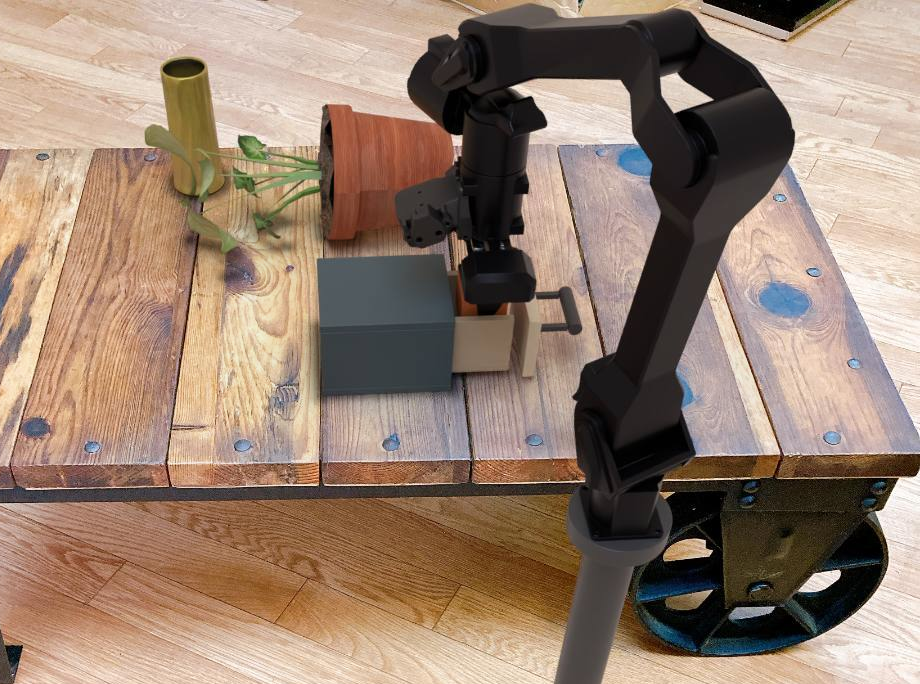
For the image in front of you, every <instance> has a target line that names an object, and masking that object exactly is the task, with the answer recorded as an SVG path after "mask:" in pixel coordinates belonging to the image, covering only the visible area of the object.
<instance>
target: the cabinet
mask: <svg viewBox="0 0 920 684" xmlns="http://www.w3.org/2000/svg"><path fill="white" fill-rule="evenodd" d="M447 271H448V270H447V263H446V257H445V253H428V254H427V253H426V254H425V253H424V254H400V255H397V254H396V255H371V256H344V257H317V258H316V277H317V297H318V298H317V299H318V302H317V303H318V322H319V323H318V324H319V339H320V340H319V342H320V343H319V344H320V364H321V365H320V366H321V382H322V385H321V386H322V396H323V397H333V396H336V397H337V396H357V395H359V396H360V395H381V394H406V393H407V394H408V393H429V392H451V391H452V377H453V372H452V364H453V349H454V335H455V316H454V310H453V304H452V298H451V292H450V286H449V280H448V275H447Z"/></svg>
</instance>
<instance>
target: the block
mask: <svg viewBox="0 0 920 684" xmlns="http://www.w3.org/2000/svg"><path fill="white" fill-rule="evenodd" d="M459 264H460V263H458V264H457V266H458V265H459ZM457 271H458V272H457V287H456V306H457V311H458V317H463V316H478V312H477V305H476V304H472V305H471V304H470V303H468V302H466V301H464V296H463V290H462V285H461V280H460V274H459V268H458V267H457ZM508 305H509V303H503V304H502V306H501V307H500V308H499V310H498V311H497V312H496V314H495V315H508V308H509V307H508Z"/></svg>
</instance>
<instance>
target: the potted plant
mask: <svg viewBox="0 0 920 684" xmlns="http://www.w3.org/2000/svg"><path fill="white" fill-rule="evenodd" d="M352 107H353V106H351V105H350V104H340V103H339V104H338V103H337V104H336V103H335V104H334V103H325V104H324V105H322V106H321V110H322V115H321V121H320V133H319V151H318V153H317V160H314V159H308V158H304V157H302V156H297V155H289V154H280V153H275V152H270V151H269V152H268V151H264V150H263V149H264V148H266V147H267V144H266V143H262V142H261V140H259V139H258V138H257V137H256V136H254V135H241V134H238V135H237V144H238V147H239V148H240V149H241V150H242V154H243V155H244V156H245V157H244V156H243V157H242V156H235V155H229V154H222V153H220V154H217V153H211V152H204V151H203V150H202V149H200V148H195V149H196V150H194V151H198V150H199V152H201V153H202V154H203V155H205V156H206V158H205V160H203V161H199V162H198V161H197V162H198V163H199V164H200V167H201V169H202V184H201V191H200V196H198V199H197V201H196V203H198V204H201V203H205V202H206V201H207V200H208V199H209V196H210V194H209V192H208V187H209V185H210V184H211V183H212V181H213V177H214V176H224V177H233V183H234V187H235V190H242V189H244V190H245V191H246V192H247V193H246V194H244V195H242V196H239V197H237V198H234V199H231V200H229V201H225V202H223V203H221V204H218V205H215V206H213V207H210V208H208V209H205V210H203V211H201V212H199V213H198V212H197V211H195V210H193V205H190V198H189V197H187V198H184V199H181V200H179V201H178V203H180V204H182V206H184V207H185V208H187V209H188V211H189V213H188V216H187V222H188V227H189V230H190V231H193V232H195V233H197V234H198V235H199V236H203V237H209V238H213V239H217V240H218V239H219V240H220V239H221V243H222V245H221V248H220V255H223V254H226V253H228V252H229V251H231V250H233V249H235V248H236V247H238V246H239V240H238V239H237V238H235V237H233V235H231V234H229V232H227V231H225V230H224V229H223V228H221V227H220V226H218V225H217V224H216V223H214V222H213V221H211V220H210V219H208V218H207V217H206V216H204V215H202V214H205V213H206V212H209V211H210V210H212V209H214V208H217V207H219V206H221V205H223V204H227V203H229V202H233V201H235V200H238V199H240V198H243V197H247V196H250V195H252V196H254V197H255V198H258V199H262V197H261V196H258V194H257V193H260V192H264V191H267V190H271V189H274V188H277V187H278V188H279V187H281V186H284V185H289V184H292V183H296V182H297V183H296V184H295V185H294V186H292V187H291V188H290V189H289V190H288V191H287V192H286V193H284V194H283V195H282V196H281V197H280V198H279V199H278V200H276V202H275V203H273V204H272V205H270V207H268V208H267V209H266V210H265V211H264V212H263V213H262V214H261V210H260V208H258V214H257V213H255V212H254V210H253V209H252V215H253V219H254V223H255V225H256V229H258V230H259V229H263V228H265V230H266V231H267V233H269V235H270V236H271V237H273V238H275V239H276V240H280V239H281V235H278V234H277V233H276V232H274V231H273V230H272V229H271V228H270V227H268V226H273V225H274V221H273V220H270V219H272V218H273V217H275V216H277V215H278V214H279V213H281V212H282V211H283V210H284V209H285V208H286V207H287V206H288V205H290V204H292V203H294V202H296V201H298V200H300V199H302V198H304V197H307V196H311V195H314V194H315V195H316V194H318V193H319V195H320V214H319V218H320V221H321V225H322V229H323V232H324V236H325V238H326V240H353V239H354V237H355V235H356V232H359V231H367V230H374V229H375V230H376V229H381V228H389V227H396V226H400V224H399V222H398V219H397V216H396V208H395V200H394V198H395V195H396V194H397V193H398V192H399V191H401V190H403V189H406V188H408V187H411V186H414V185H417V184H420V183H422V182H425V181H428V180H431V179H434V178H442V177H445V172H446V171H447V170H448V169H449V168H450V167H452V166H453V165H454V158H455V153H454V141H453V138H452V134H449V133H448V132H446V131H445V130H444V129H443V128H442V127H440V126H439V125H438V124H437V123H436V122H431V121H425V120H416V119H411V118H410V119H409V118H403V117H395V116H389V115H380V114H375V113H367V112H359V111H354V110H353V108H352ZM144 143H145V145H146V146H148V147H153V148H157V149H160V150H164V151H166V152H169V153H173V154H174V155H176V156H178V157H180V158H182V159H183V160H184V161H185V162H186V163H187V164H188V165H189V166H190V168H191V169H192V167H191V165H190V162H189V159H188V156H187V154H186V151H185V149H186V148H185V149H184V148H183V146H182V145H181V143H180V141H179V140H178V139H177V138H176V137H175V136H174V135H173V134H172V133H171V132H170V131H169V129H166V128H165V127H163V126H162V125H159V124H154V123H152V124H150V125H149V126H147V127H146V128H145V130H144ZM190 150H192V149H190ZM207 153H208V154H213V155H218V156H220V157H224V158H228V159H235V160H239V161H244V162H250V163H251V162H252V163H258V164H264V165H271V166H276V167H283V168H284V167H285V168H290V169H292V168H293V169H295V170H292V171H280V172H267V173H265V172H264V173H254V174H253V173H252V174H248V173H247V172H244V171H243V172H242V171H241V170H239V169H238V168H236V167H235V166H234V165H233V164H232V165H231V166H232V174H230V173H228V174H223V175H214V171H215V169H214V167H213V165H212V163H211V160H210V158H209V156H208V155H207ZM267 155H271V156H275V157H280V158H286V159H289V160H294V161H297V162H298V163H297V162H287V161H285V162H284V161H276V160H267ZM192 175H193V185H192V191H191V192H190V195H189V196H190V197H191V196H192V195H193V197H195V196H194V195H195V193H196V190H197V181H196V176H195V174H194V172H193V170H192ZM254 178H255V179H259V178H261V179H262V178H264V180H262V181H259V182H256V181H255V179H254ZM265 178H268V179H265ZM276 178H282V179H279V180H276V181H274V182H271V183H270V184H267V185H264V186H263V187H260V188H258V189H256V186H258V185H261V184H264V183H266V182H268V181H271V180H274V179H276ZM311 180H312V181H318V185H314V186H309V187H307V188H305V189H303V190H301V191H299V192H297V193H295V194H294V195H293V196H291V197H289V198H287V199H286V200H285V201H283V202H282V203H281V206H279V207H278V208H276V209H275V210H273V211H272V212H271V213H270V214H269V215H268V216H267V217H263V215H264V214H265V213H267V212H268V211H269V210H270V209H271V208H272V207H274V206H275V205H276V204H278V203H279V202H280V201H282V200H283V199H285V198H286V197H287V196H288V195H289V194H290V193H291V192H292V191H294V190H295V189H296V188H297V187H299V186H300V185H301V184H303V183H304V182H305V181H311Z"/></svg>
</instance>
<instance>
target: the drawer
mask: <svg viewBox="0 0 920 684" xmlns="http://www.w3.org/2000/svg"><path fill="white" fill-rule="evenodd" d="M457 272H458V270H447V275H448V280H449V286H450V292H451V298H452V304H453V310H454V316H455V335H454V349H453V364H452V373H472V372H473V373H474V372H498V371H501V372H502V371H509V369H510V361H511V352H512V343H513V340H514V344H515V348H516V354H517V358H518V363H519V368H520V372H521V376H522V378H524V377H525V378H526V377H535V375H536V368H537V361H538V355H539V347H540V345H539V344H540V340H541V333H550V332H552V333H553V332H568V334H569V335H570V336H577V335H580V334H581V333H582V331H583V329H584V328H583V324H582V321H581V317H580V314H579V310H578V307H577V303H576V300H575V296H574V293H573V289H572V288H571V287H570V286H568V285H567V286H566V285H564V286H561V287H559V289H558V290H551V291H548V290H547V291H535V298H534V299H533V300H531V301H530V302H524V303H510V308H509V314H507V315H489V316H463V317H458V311H457V306H456V287H457ZM542 300H543V301H544V300H545V301H546V300H559V302H560V306H561V310H562V314H563V317H564V322H551V323H549V322H547V323H546V322H545V323H543V320H542V316H541V312H540V307H539V303H538V301H542Z"/></svg>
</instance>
